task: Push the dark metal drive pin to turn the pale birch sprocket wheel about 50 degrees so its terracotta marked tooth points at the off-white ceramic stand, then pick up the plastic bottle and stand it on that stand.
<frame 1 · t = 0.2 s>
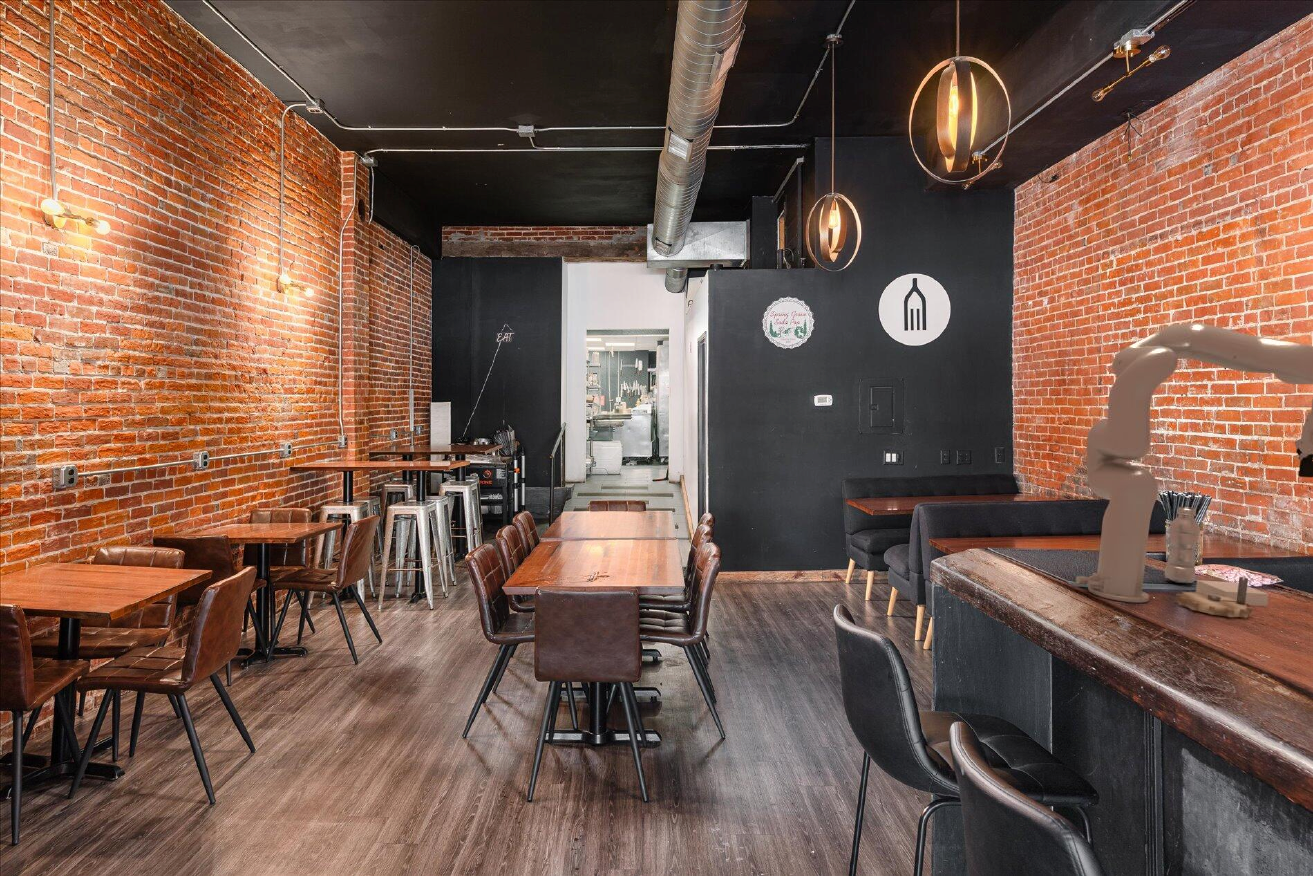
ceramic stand: (1230, 599, 185), on the table
sprocket wheel: (1214, 591, 174), point 4 cm above the table, hinge at 0.0°
plastic bottle: (1178, 584, 198), on the table
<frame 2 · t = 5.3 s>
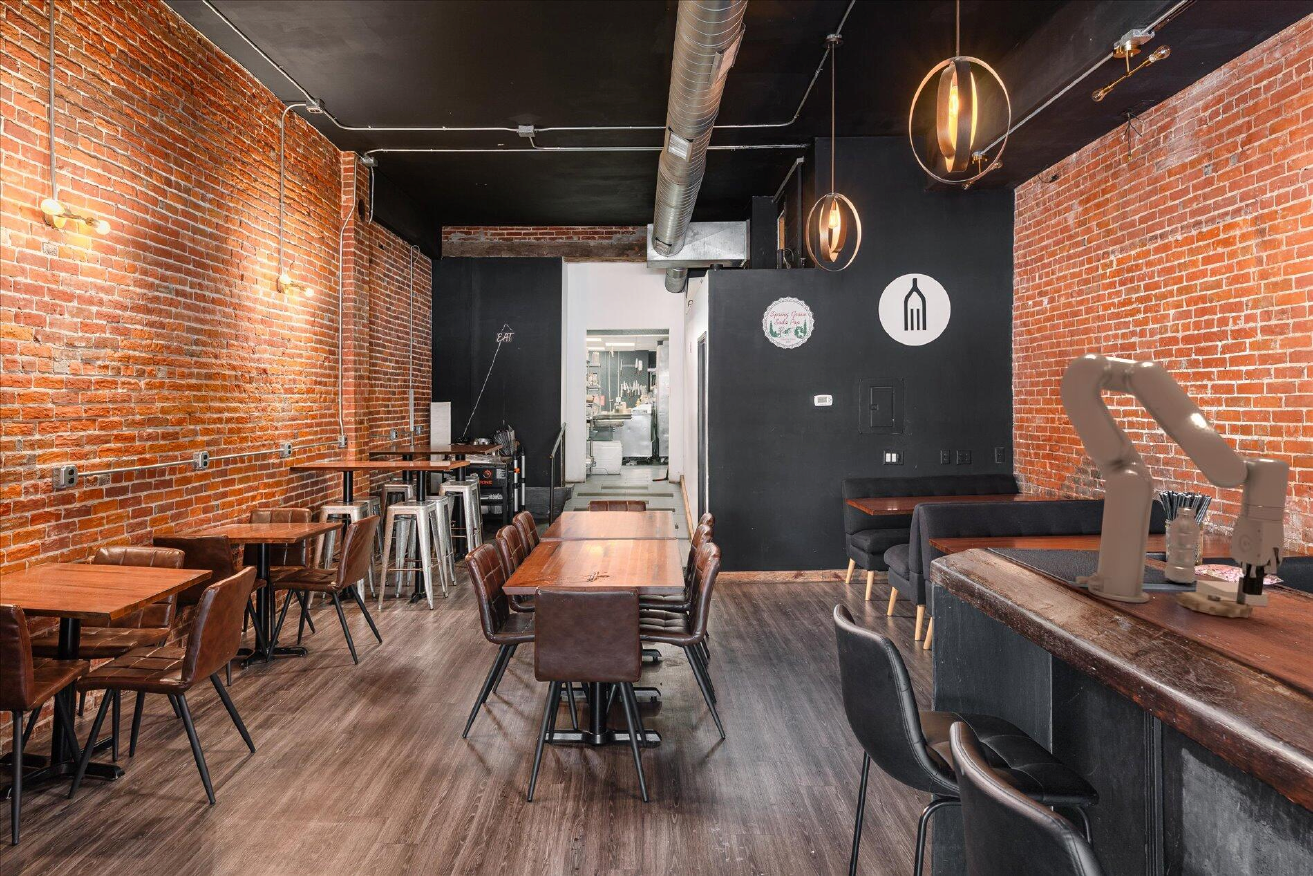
hand: (1251, 593, 169), 6 cm above the table, tool pointing down, fingers closed
sprocket wheel: (1214, 591, 174), point 4 cm above the table, hinge at 1.3°, touching gripper
everything else where it was.
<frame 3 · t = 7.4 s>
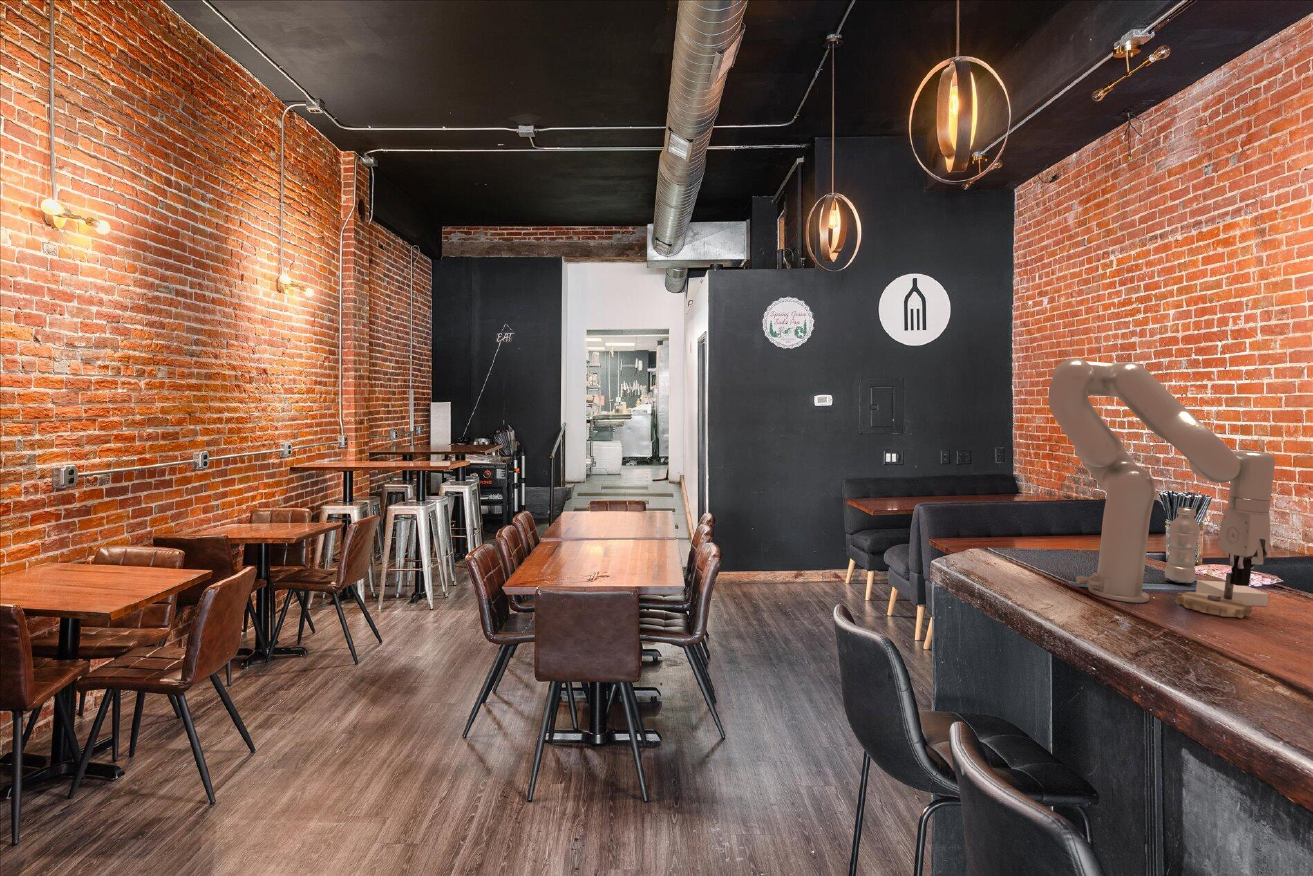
hand: (1239, 584, 173), 7 cm above the table, tool pointing down, fingers closed
sprocket wheel: (1214, 591, 174), point 4 cm above the table, hinge at 48.4°
everything else where it was.
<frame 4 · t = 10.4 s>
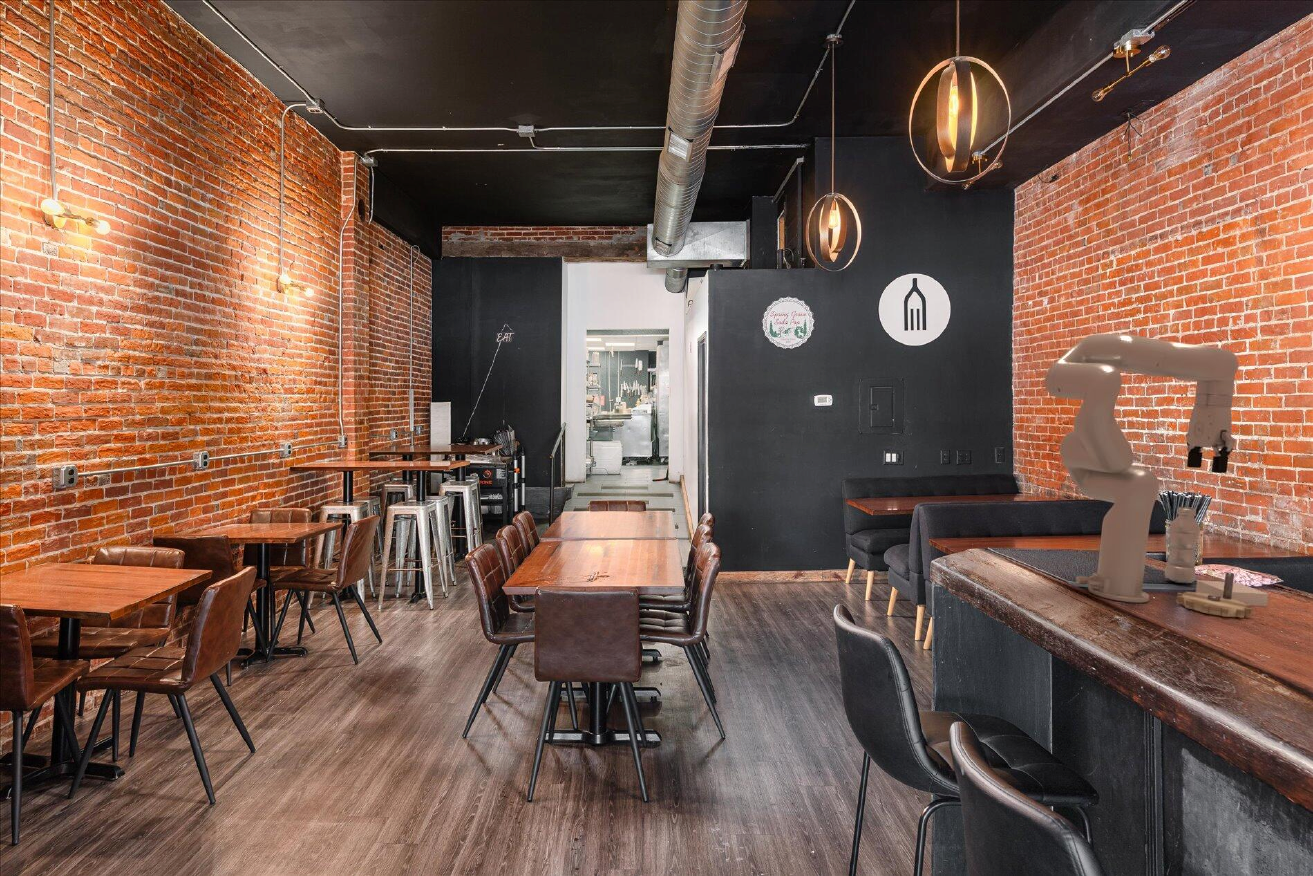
hand: (1206, 470, 190), 31 cm above the table, tool pointing down, fingers open, 9 cm apart
sprocket wheel: (1214, 591, 174), point 4 cm above the table, hinge at 50.3°
everything else where it was.
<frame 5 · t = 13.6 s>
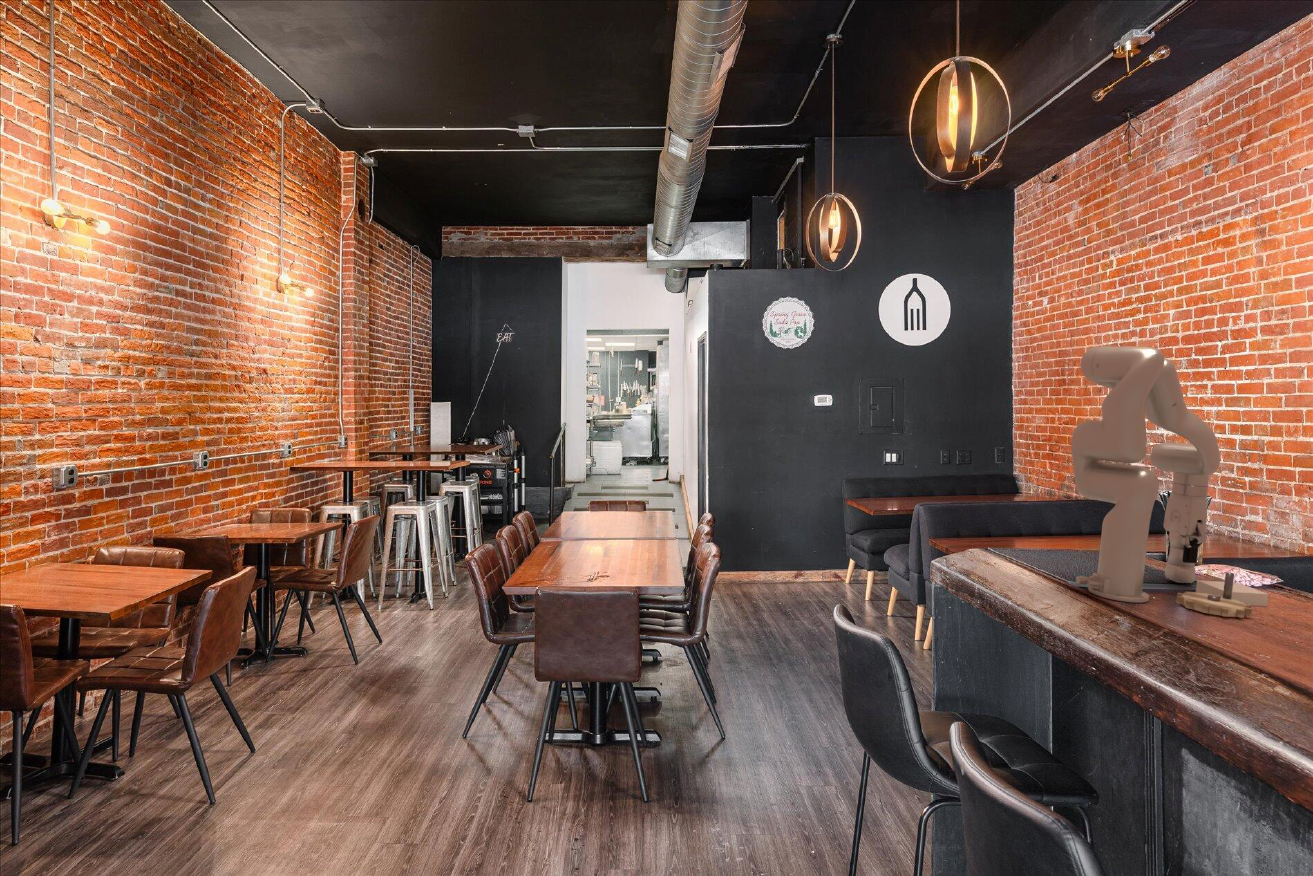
hand: (1181, 559, 198), 6 cm above the table, tool pointing down, fingers closed on plastic bottle, 5 cm apart
plastic bottle: (1178, 584, 198), on the table, touching gripper
everything else where it was.
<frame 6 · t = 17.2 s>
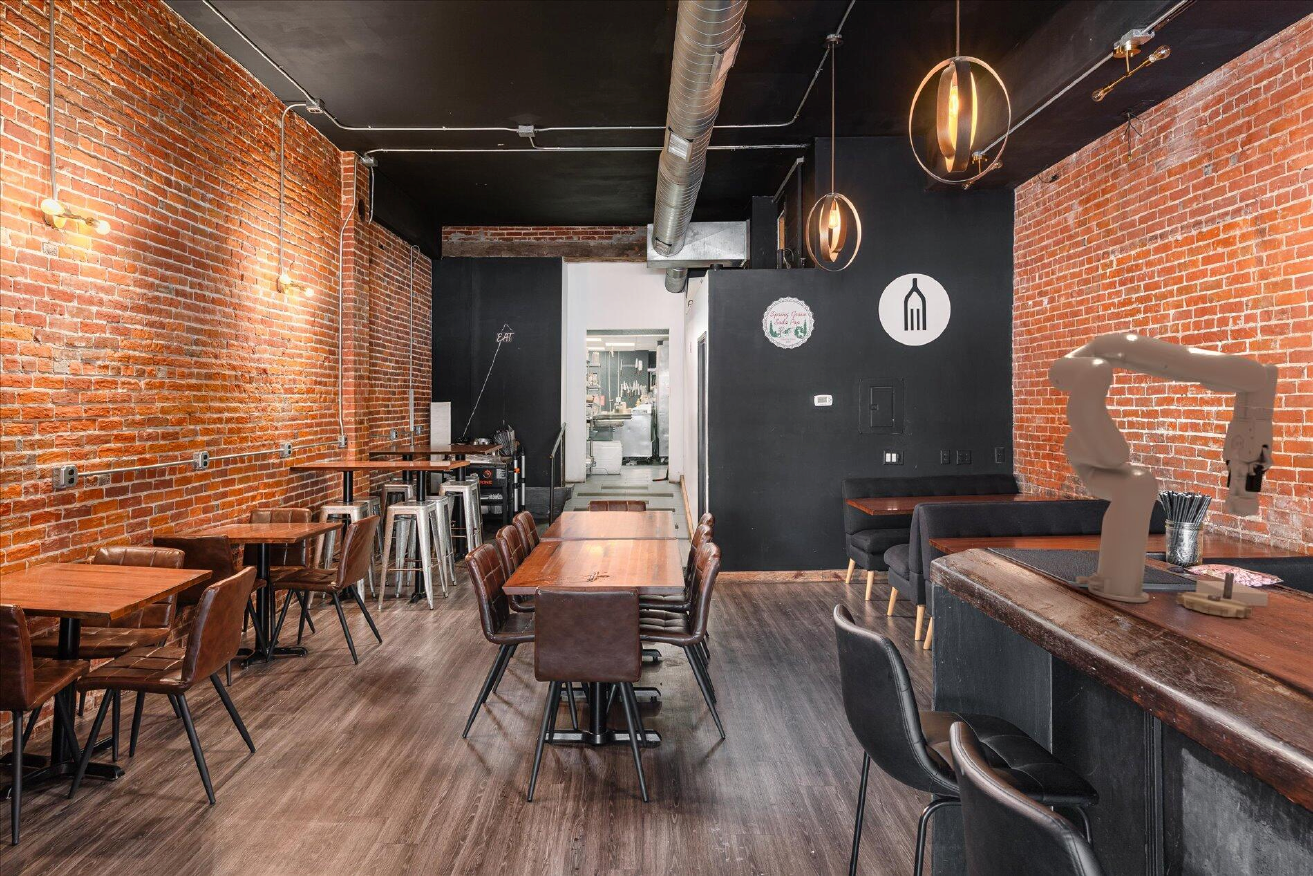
hand: (1243, 489, 183), 27 cm above the table, tool pointing down, fingers closed on plastic bottle, 5 cm apart
plastic bottle: (1240, 516, 183), point 21 cm above the table, touching gripper
everything else where it was.
when the fingers open (11 cm above the table, at t = 20.7 s): plastic bottle drops 1 cm, resting on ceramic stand.
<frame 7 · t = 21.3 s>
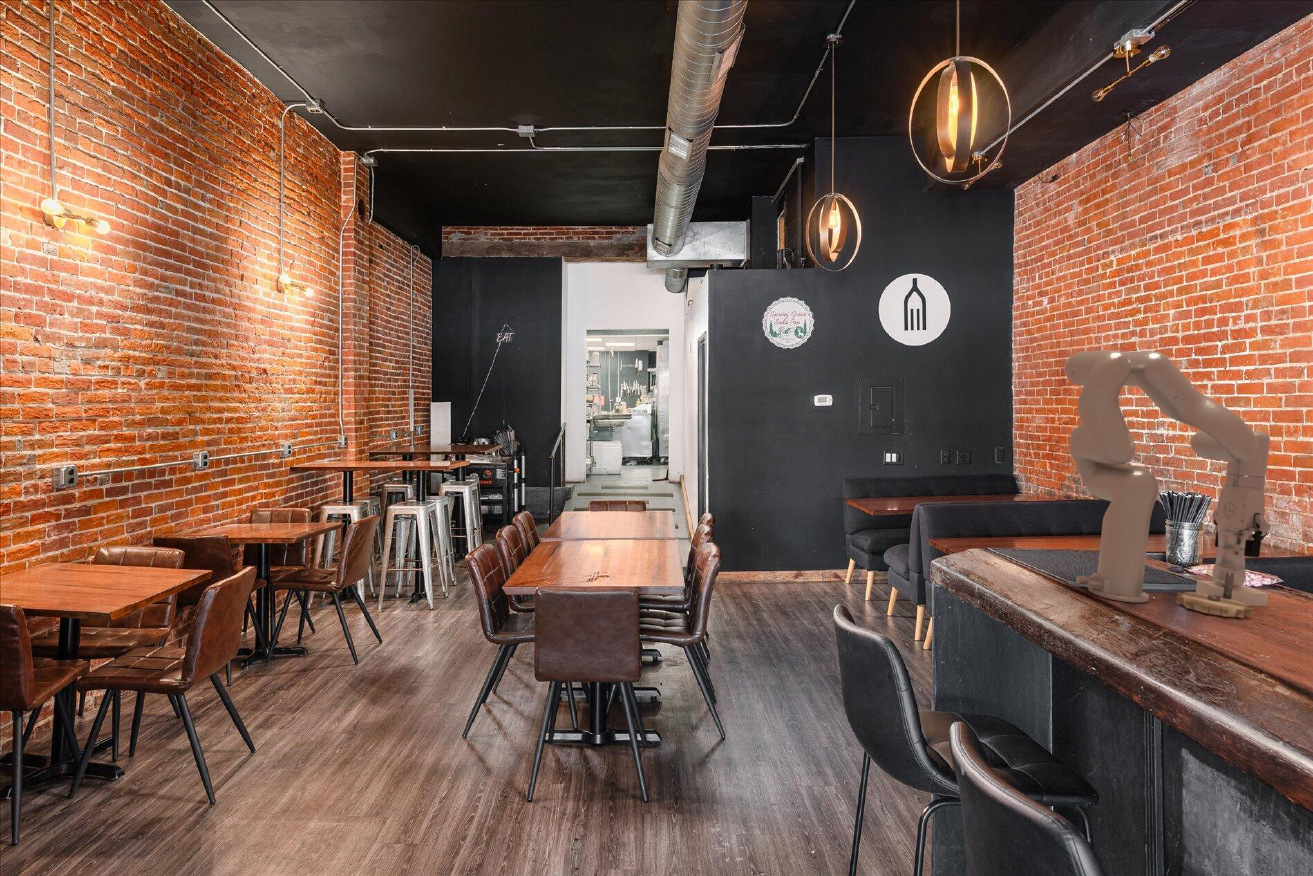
hand: (1236, 551, 184), 12 cm above the table, tool pointing down, fingers open, 9 cm apart
plastic bottle: (1227, 586, 186), point 3 cm above the table, touching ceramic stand
everything else where it was.
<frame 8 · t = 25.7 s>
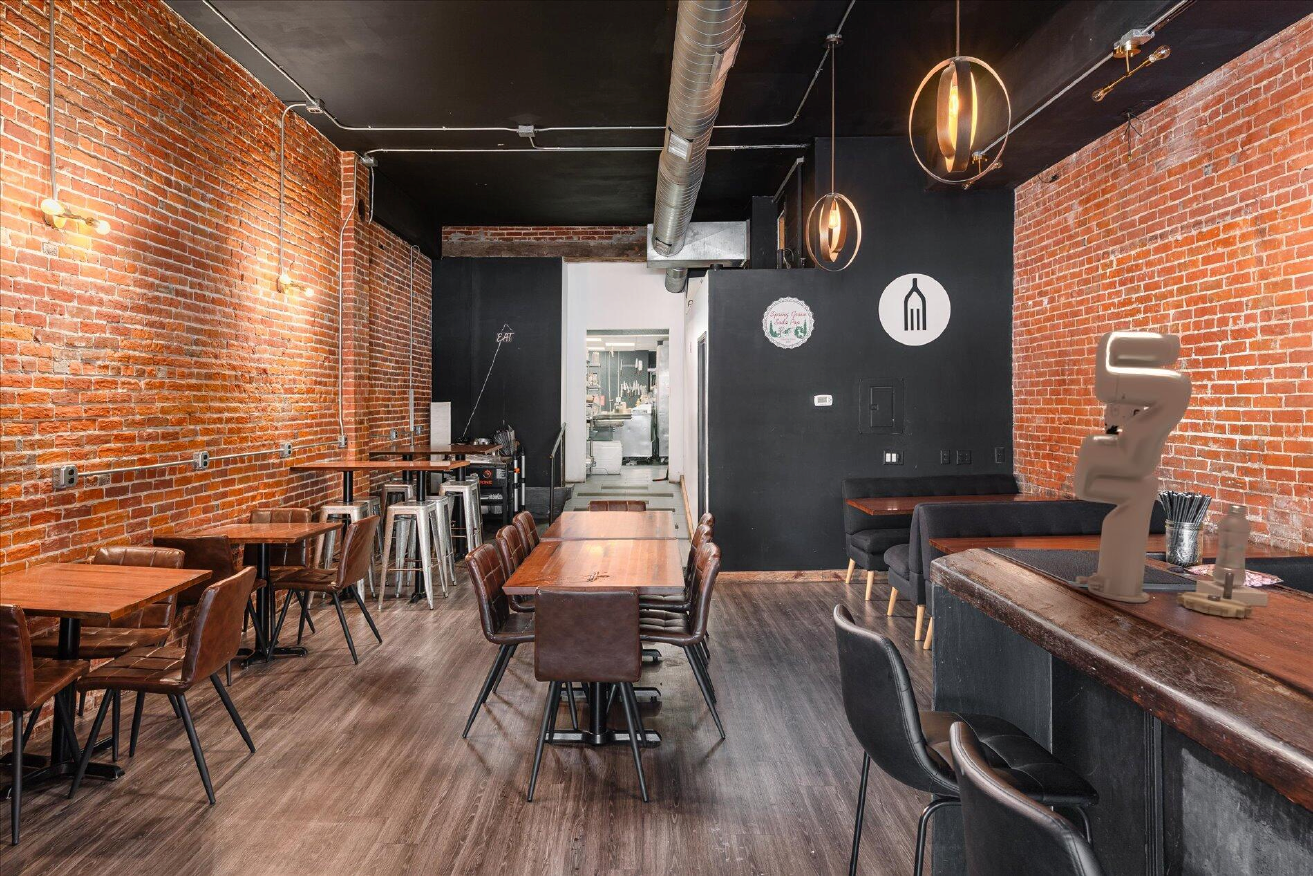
hand: (1121, 447, 201), 34 cm above the table, tool pointing down, fingers open, 9 cm apart
nothing on the table moved.
at the end: sprocket wheel at +50° (first picture: +0°); plastic bottle inside the target area on the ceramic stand (1.1 cm from its centre), point 2.8 cm above the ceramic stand's base; plastic bottle tilted 0° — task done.
